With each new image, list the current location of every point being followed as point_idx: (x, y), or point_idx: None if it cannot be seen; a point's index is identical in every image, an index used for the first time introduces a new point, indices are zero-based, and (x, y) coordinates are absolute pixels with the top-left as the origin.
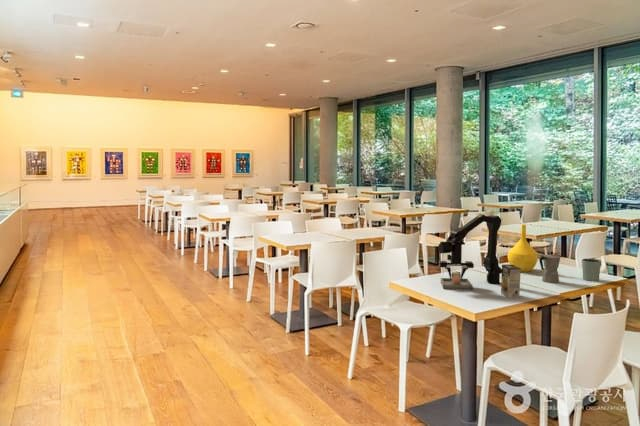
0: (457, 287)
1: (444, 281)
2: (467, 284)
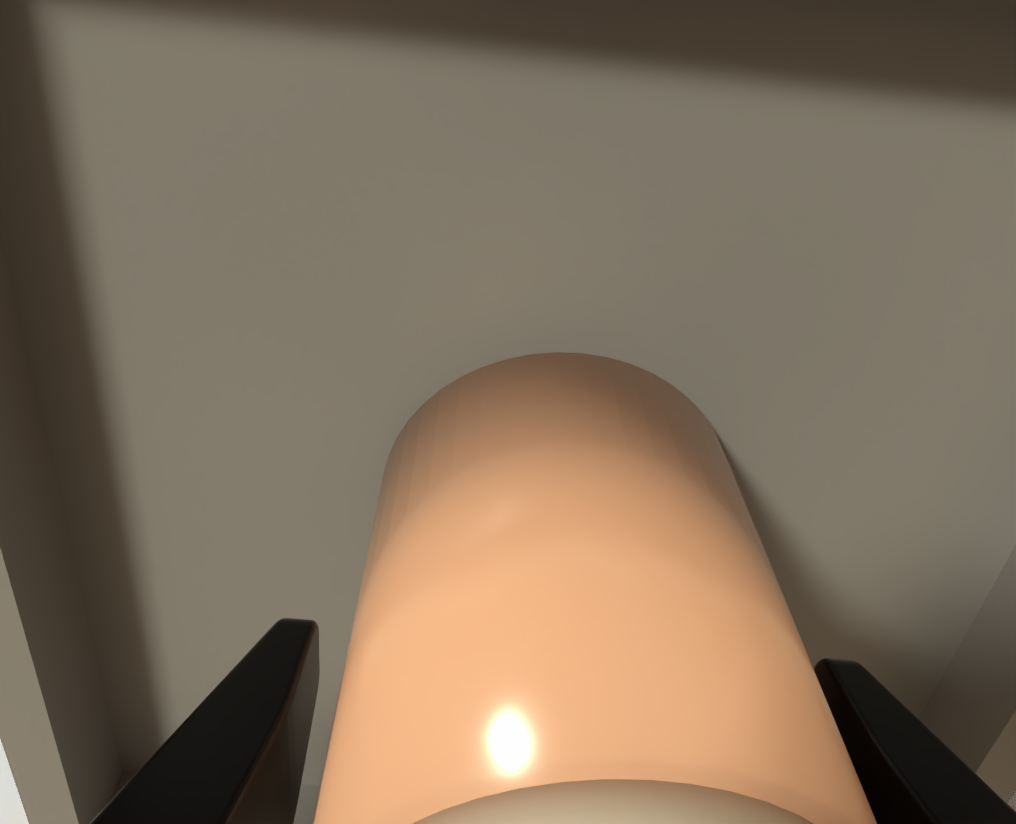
0: None
1: (74, 41)
2: (981, 549)
